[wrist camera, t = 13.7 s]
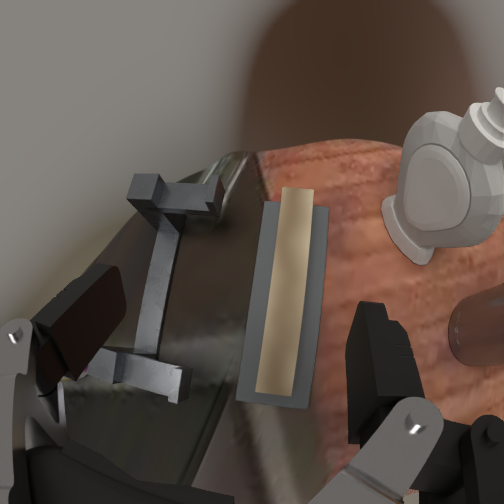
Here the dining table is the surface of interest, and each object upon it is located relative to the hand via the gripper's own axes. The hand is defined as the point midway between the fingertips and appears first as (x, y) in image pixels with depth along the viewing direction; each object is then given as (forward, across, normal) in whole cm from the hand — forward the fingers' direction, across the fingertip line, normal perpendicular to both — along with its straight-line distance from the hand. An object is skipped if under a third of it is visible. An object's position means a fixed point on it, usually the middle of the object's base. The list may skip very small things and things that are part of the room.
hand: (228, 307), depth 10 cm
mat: (+21, -2, +14) cm, 25 cm away
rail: (+21, -2, +13) cm, 25 cm away
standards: (+20, +11, +15) cm, 27 cm away
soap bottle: (+29, -17, +7) cm, 34 cm away
